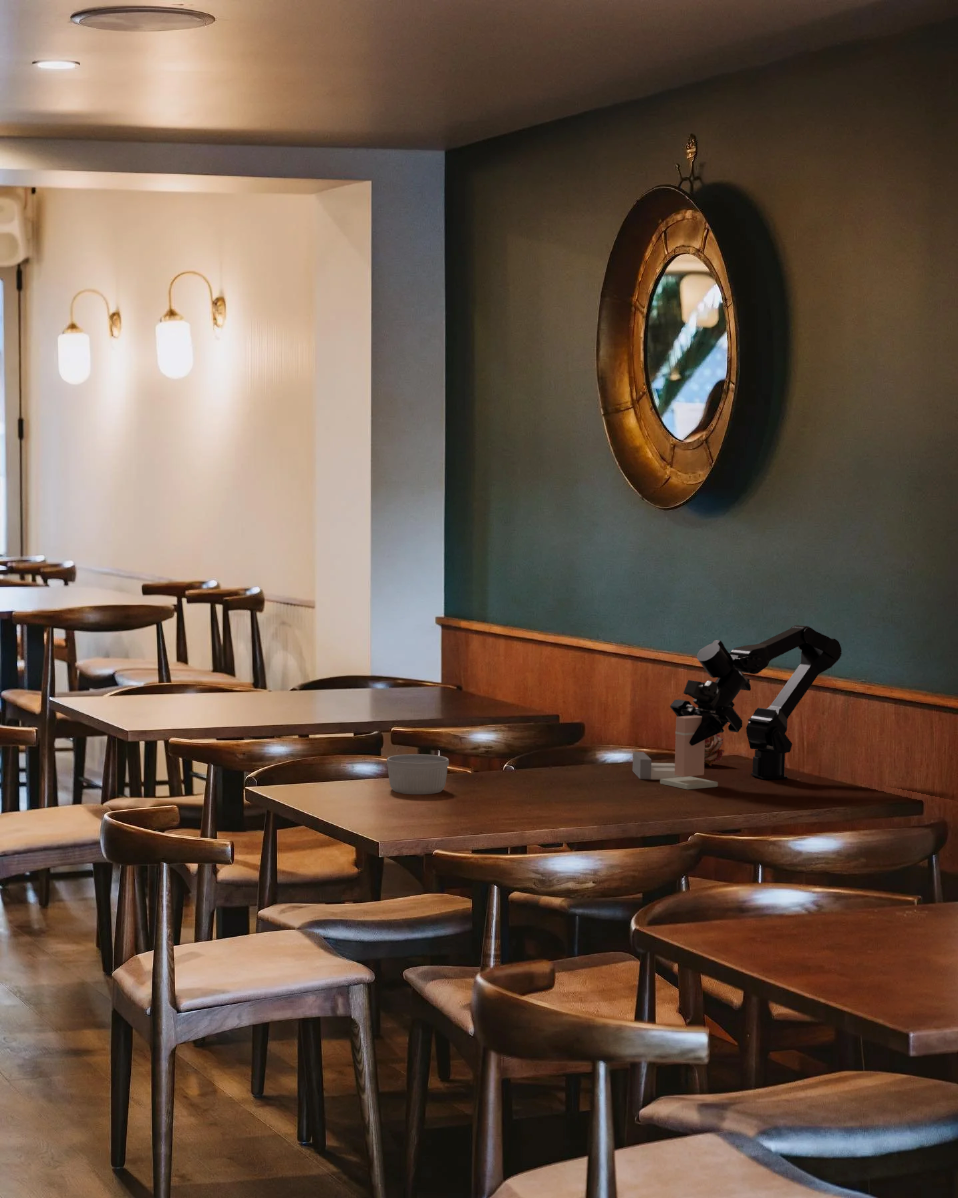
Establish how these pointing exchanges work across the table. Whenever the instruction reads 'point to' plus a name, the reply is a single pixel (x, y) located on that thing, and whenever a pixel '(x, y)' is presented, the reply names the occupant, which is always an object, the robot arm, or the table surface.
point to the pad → (688, 782)
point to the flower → (713, 749)
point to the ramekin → (417, 773)
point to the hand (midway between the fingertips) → (685, 743)
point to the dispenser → (652, 768)
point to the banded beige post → (688, 747)
